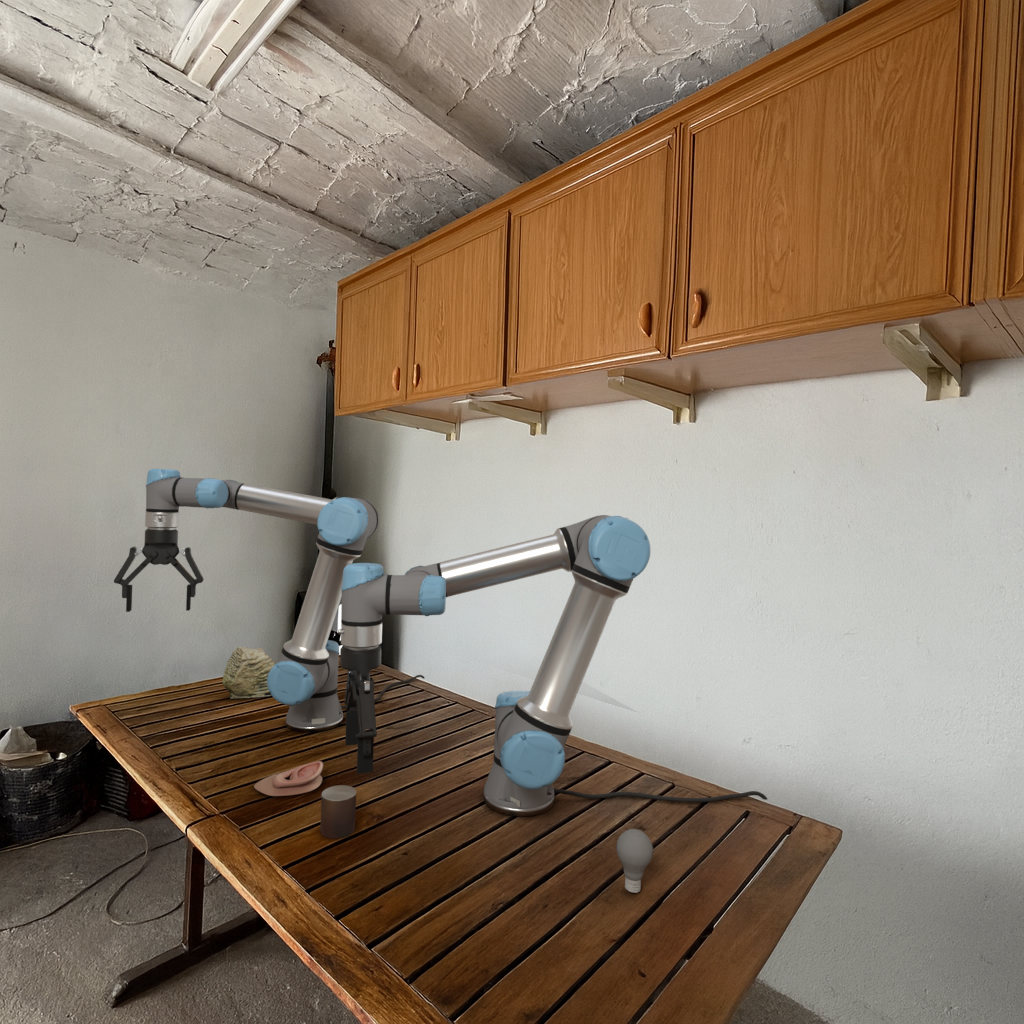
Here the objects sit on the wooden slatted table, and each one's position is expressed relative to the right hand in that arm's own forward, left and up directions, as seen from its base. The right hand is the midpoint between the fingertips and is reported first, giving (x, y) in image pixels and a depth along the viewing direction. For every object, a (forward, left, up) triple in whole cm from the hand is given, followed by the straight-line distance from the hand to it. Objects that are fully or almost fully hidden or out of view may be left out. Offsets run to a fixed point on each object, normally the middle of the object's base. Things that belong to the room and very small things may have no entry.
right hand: (358, 757), depth 120 cm
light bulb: (-40, +33, -15) cm, 54 cm away
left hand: (+40, -67, +17) cm, 80 cm away
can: (+3, -2, -15) cm, 15 cm away
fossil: (+15, -92, -15) cm, 94 cm away
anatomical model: (+10, -24, -15) cm, 30 cm away
